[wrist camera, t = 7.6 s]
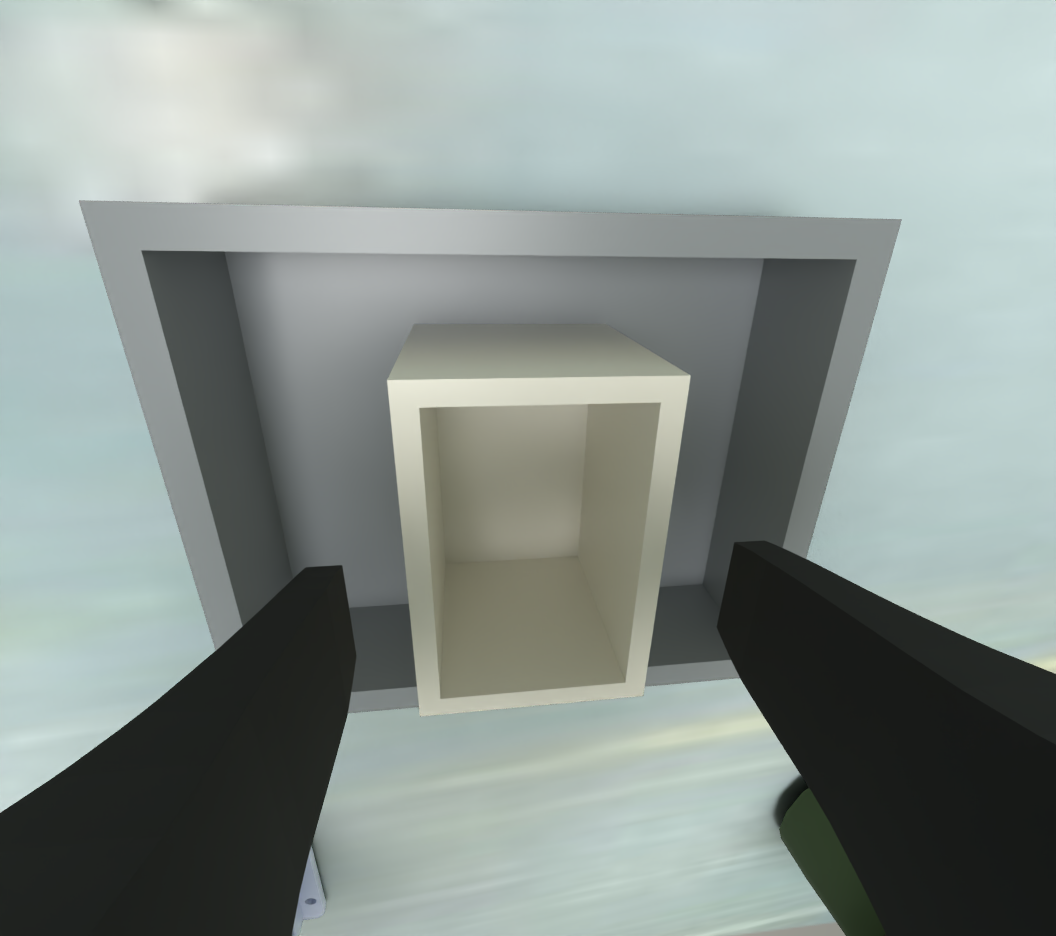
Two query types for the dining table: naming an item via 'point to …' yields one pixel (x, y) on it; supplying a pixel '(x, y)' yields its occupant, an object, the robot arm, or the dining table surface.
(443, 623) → the cream crate
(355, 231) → the grey crate
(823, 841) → the character mug
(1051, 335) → the dining table surface
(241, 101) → the dining table surface
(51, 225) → the dining table surface
